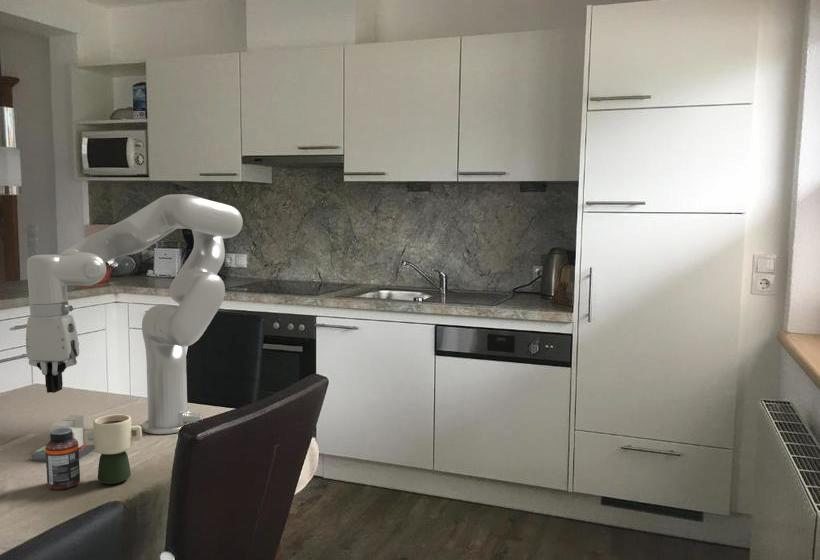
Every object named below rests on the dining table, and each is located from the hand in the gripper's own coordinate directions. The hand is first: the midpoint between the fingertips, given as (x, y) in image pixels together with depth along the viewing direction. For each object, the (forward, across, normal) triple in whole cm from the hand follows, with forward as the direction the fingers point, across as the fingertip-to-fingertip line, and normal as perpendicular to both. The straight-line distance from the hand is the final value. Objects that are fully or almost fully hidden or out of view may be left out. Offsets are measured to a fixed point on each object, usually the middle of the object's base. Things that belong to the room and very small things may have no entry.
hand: (54, 390), depth 152 cm
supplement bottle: (+15, -12, +16) cm, 25 cm away
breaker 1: (+13, +1, -4) cm, 13 cm away
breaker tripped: (+13, -4, 0) cm, 13 cm away
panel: (+15, -1, -4) cm, 15 cm away
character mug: (+15, -21, +13) cm, 29 cm away
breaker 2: (+13, +2, -8) cm, 15 cm away
